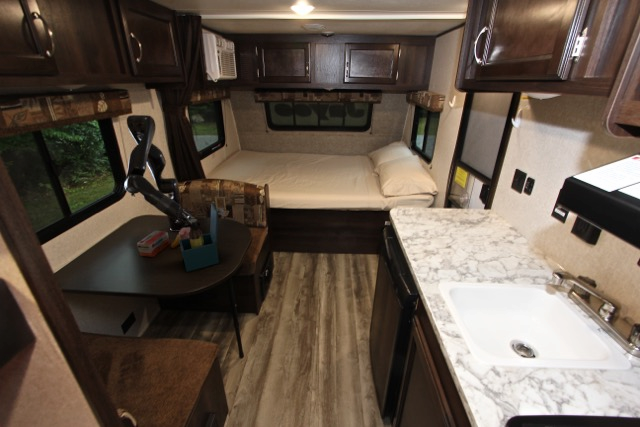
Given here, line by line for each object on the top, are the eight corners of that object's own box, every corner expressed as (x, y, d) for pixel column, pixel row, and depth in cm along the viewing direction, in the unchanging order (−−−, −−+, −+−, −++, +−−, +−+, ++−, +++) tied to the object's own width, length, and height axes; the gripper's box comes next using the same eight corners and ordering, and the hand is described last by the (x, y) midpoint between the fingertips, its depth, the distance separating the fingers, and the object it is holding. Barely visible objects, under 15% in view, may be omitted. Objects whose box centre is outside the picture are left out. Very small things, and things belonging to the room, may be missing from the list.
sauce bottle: (207, 255, 151) (201, 221, 142) (194, 259, 148) (188, 224, 139) (203, 249, 156) (197, 216, 147) (191, 253, 152) (184, 219, 144)
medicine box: (157, 242, 171) (154, 230, 167) (170, 243, 170) (167, 231, 166) (139, 256, 157) (136, 243, 154) (153, 257, 156) (150, 244, 153)
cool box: (186, 271, 145) (182, 251, 140) (183, 259, 155) (179, 239, 150) (219, 263, 152) (216, 243, 147) (213, 251, 162) (210, 232, 157)
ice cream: (175, 251, 159) (197, 233, 165) (163, 239, 160) (186, 221, 166) (180, 256, 169) (201, 238, 175) (169, 244, 170) (190, 227, 176)
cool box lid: (216, 212, 141) (227, 212, 144) (211, 203, 151) (221, 203, 154) (215, 242, 147) (225, 241, 150) (209, 232, 157) (220, 231, 160)
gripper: (168, 206, 131) (200, 228, 138) (176, 195, 144) (205, 215, 151) (158, 218, 133) (190, 239, 140) (167, 205, 145) (196, 225, 152)
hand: (198, 226), depth 145 cm, fingers closed on sauce bottle, 4 cm apart
